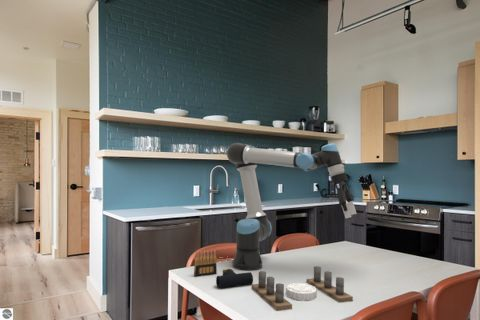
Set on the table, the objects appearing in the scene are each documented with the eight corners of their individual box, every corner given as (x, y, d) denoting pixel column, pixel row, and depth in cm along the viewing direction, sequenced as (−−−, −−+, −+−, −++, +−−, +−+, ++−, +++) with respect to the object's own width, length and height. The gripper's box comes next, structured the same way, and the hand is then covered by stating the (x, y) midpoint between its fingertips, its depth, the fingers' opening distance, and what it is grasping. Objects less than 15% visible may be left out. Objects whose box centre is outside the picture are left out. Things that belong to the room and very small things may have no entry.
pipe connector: (211, 269, 152) (242, 266, 158) (210, 281, 152) (241, 277, 158) (220, 277, 141) (253, 273, 148) (220, 290, 141) (252, 286, 147)
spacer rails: (251, 288, 144) (251, 270, 144) (318, 281, 154) (318, 264, 154) (276, 310, 121) (277, 289, 121) (352, 300, 132) (352, 280, 132)
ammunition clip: (195, 277, 157) (195, 250, 158) (193, 275, 159) (194, 249, 159) (216, 274, 162) (217, 248, 162) (215, 273, 164) (215, 247, 164)
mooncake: (295, 288, 145) (295, 279, 145) (322, 295, 137) (322, 286, 138) (280, 296, 136) (280, 286, 136) (307, 304, 128) (307, 294, 128)
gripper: (339, 172, 159) (354, 217, 155) (349, 171, 180) (363, 211, 177) (323, 176, 162) (338, 221, 158) (336, 175, 184) (348, 214, 180)
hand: (351, 216), depth 168 cm, fingers open, 13 cm apart
